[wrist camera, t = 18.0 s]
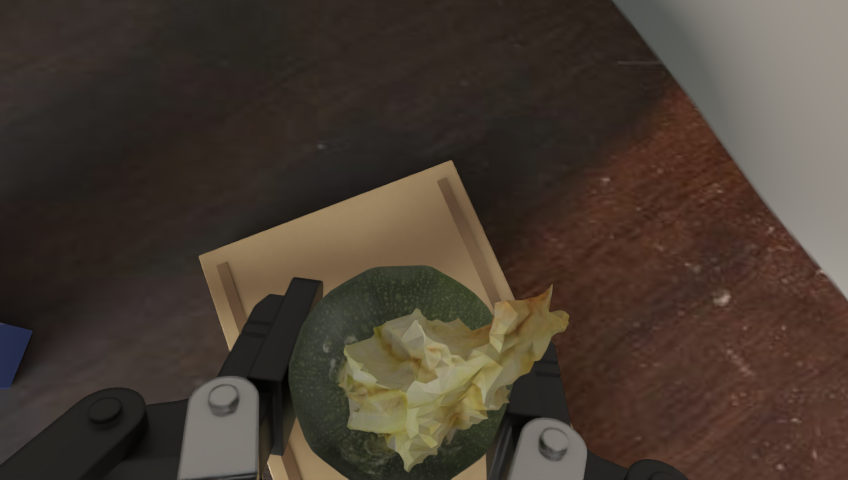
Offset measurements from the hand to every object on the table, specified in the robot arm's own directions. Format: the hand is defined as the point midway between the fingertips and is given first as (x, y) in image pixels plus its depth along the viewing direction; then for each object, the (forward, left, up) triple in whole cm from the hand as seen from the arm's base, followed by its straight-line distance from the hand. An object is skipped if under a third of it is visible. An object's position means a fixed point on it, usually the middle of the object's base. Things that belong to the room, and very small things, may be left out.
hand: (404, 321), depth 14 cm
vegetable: (+1, -1, -11) cm, 11 cm away
